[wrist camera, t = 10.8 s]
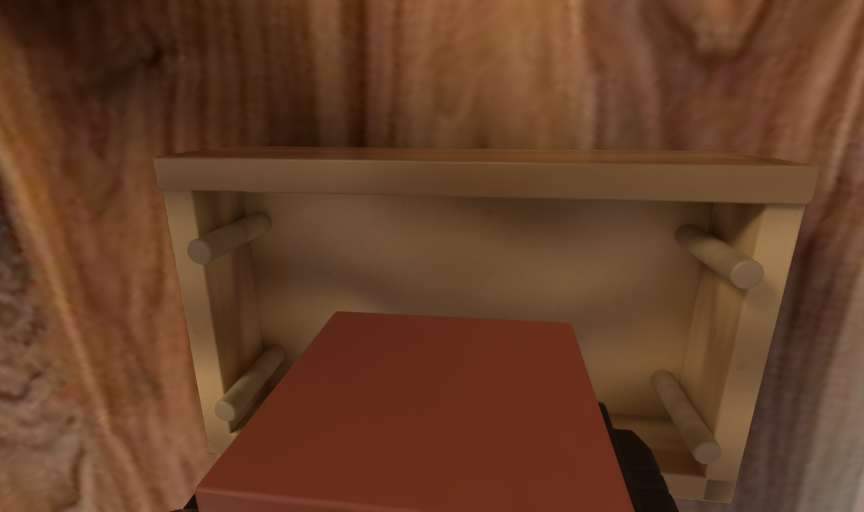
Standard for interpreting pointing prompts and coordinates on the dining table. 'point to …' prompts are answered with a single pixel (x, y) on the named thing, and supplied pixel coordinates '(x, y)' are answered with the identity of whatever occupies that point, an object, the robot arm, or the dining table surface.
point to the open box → (500, 270)
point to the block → (425, 424)
